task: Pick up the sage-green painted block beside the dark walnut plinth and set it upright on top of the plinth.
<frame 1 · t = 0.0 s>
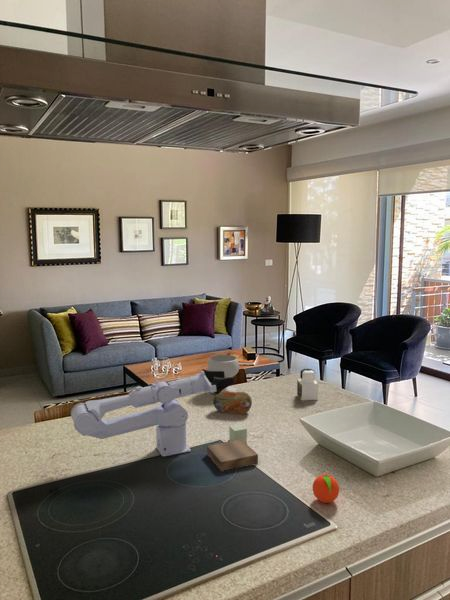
hand: (228, 377, 166), 22 cm above the kitchen island, tool horizontal, fingers open, 7 cm apart
medicine bottle: (307, 398, 209), on the kitchen island
tin: (232, 412, 194), on the kitchen island
plinth: (232, 459, 155), on the kitchen island
block: (238, 441, 167), on the kitchen island
chalice: (223, 391, 218), on the kitchen island
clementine: (326, 502, 130), on the kitchen island
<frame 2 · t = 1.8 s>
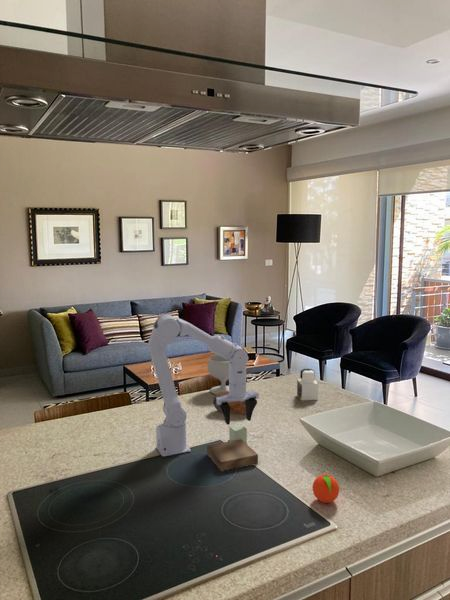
hand: (238, 421, 166), 7 cm above the kitchen island, tool pointing down, fingers open, 7 cm apart
nothing on the kitchen island moved.
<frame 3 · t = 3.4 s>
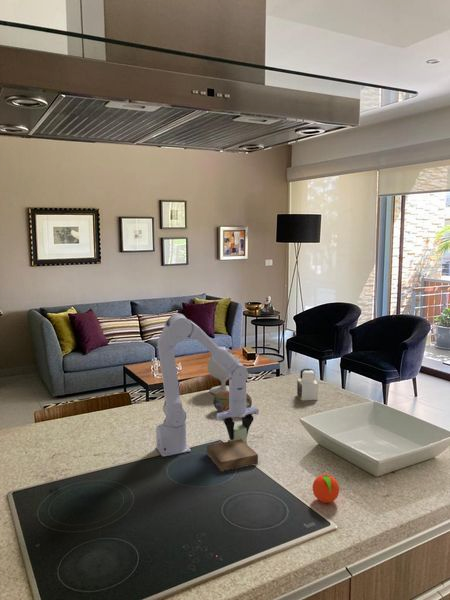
hand: (238, 437, 167), 1 cm above the kitchen island, tool pointing down, fingers closed on block, 4 cm apart
block: (238, 441, 167), on the kitchen island, touching gripper
everything else where it was.
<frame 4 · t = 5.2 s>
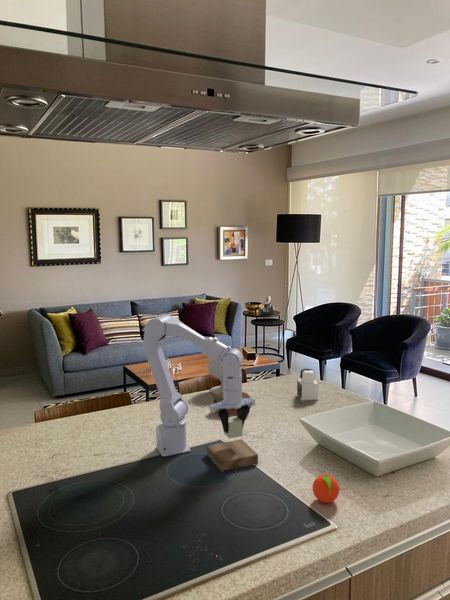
hand: (233, 430, 156), 8 cm above the kitchen island, tool pointing down, fingers closed on block, 4 cm apart
block: (233, 434, 156), point 7 cm above the kitchen island, touching gripper
everything else where it was.
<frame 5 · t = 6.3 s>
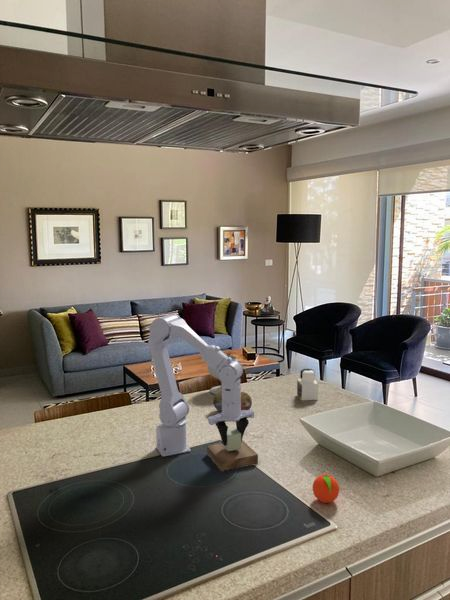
hand: (231, 442, 154), 5 cm above the kitchen island, tool pointing down, fingers closed on block, 4 cm apart
block: (231, 447, 154), point 4 cm above the kitchen island, touching gripper
everything else where it was.
when the fingers open (5 cm above the kitchen island, at t = 7.0 s): block stays where it is, resting on plinth.
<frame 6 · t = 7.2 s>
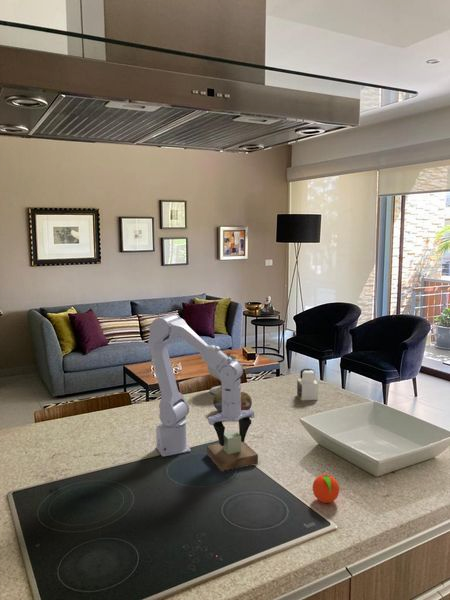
hand: (231, 442, 154), 5 cm above the kitchen island, tool pointing down, fingers open, 6 cm apart
block: (231, 449, 154), point 3 cm above the kitchen island, touching plinth
everything else where it was.
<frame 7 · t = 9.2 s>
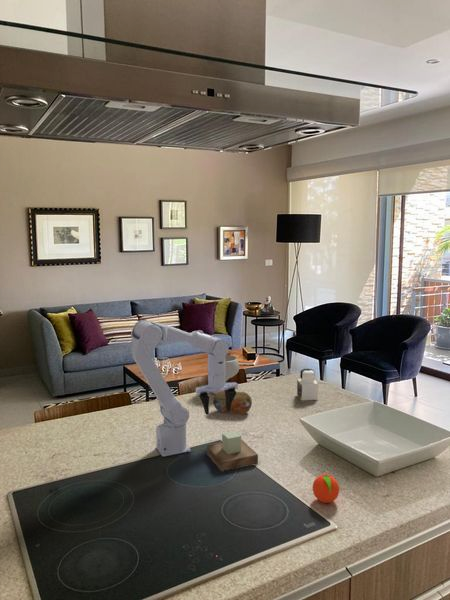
hand: (217, 411, 169), 9 cm above the kitchen island, tool pointing down, fingers open, 7 cm apart
nothing on the kitchen island moved.
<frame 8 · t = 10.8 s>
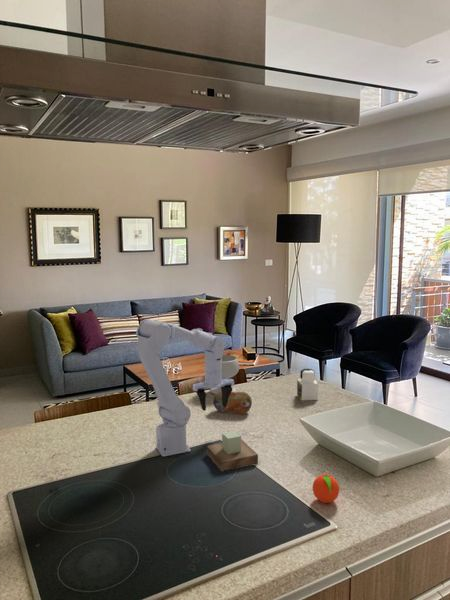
hand: (214, 407, 172), 9 cm above the kitchen island, tool pointing down, fingers open, 7 cm apart
nothing on the kitchen island moved.
at the end: block inside the target area on the plinth (0.1 cm from its centre), point 3.0 cm above the plinth's base; block tilted 0°; the gripper is holding nothing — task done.
